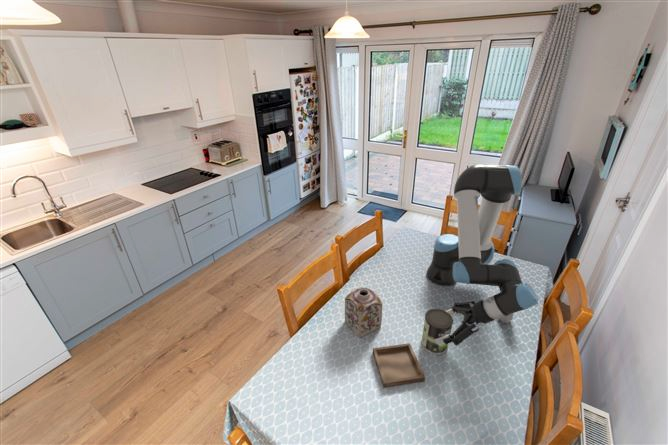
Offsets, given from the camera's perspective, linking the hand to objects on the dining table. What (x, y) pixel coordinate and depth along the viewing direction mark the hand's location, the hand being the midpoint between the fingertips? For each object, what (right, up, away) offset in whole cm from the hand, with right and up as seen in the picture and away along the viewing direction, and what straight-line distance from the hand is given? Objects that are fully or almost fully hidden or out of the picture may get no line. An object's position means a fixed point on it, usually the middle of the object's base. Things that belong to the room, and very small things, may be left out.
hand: (438, 329), depth 120 cm
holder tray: (-17, -12, -4) cm, 21 cm away
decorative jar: (-28, -3, +14) cm, 32 cm away
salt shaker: (+33, -1, +15) cm, 36 cm away
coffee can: (0, -7, +4) cm, 9 cm away
